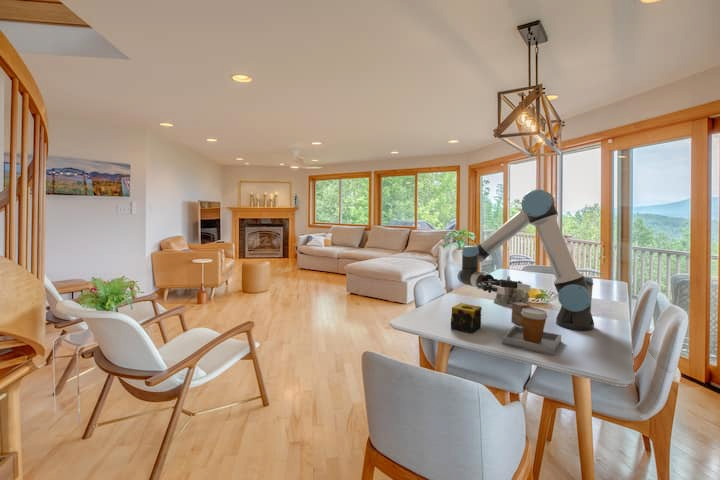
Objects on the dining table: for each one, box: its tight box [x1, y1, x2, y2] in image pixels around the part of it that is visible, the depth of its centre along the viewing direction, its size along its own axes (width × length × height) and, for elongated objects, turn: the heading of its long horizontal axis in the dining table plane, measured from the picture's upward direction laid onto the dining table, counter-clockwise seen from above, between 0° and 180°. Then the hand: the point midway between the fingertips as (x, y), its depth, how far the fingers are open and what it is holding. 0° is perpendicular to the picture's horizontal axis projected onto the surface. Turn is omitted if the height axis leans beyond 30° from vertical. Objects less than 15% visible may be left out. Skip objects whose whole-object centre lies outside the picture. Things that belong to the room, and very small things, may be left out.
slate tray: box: [501, 325, 562, 357], centre depth 146 cm, size 18×18×3 cm
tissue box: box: [450, 302, 483, 335], centre depth 161 cm, size 10×10×10 cm
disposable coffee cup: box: [521, 307, 549, 343], centre depth 146 cm, size 10×10×12 cm
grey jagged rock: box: [493, 276, 530, 307], centre depth 206 cm, size 16×16×15 cm
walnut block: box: [510, 302, 530, 326], centre depth 171 cm, size 5×5×9 cm
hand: (516, 289), depth 153 cm, fingers open, 13 cm apart
